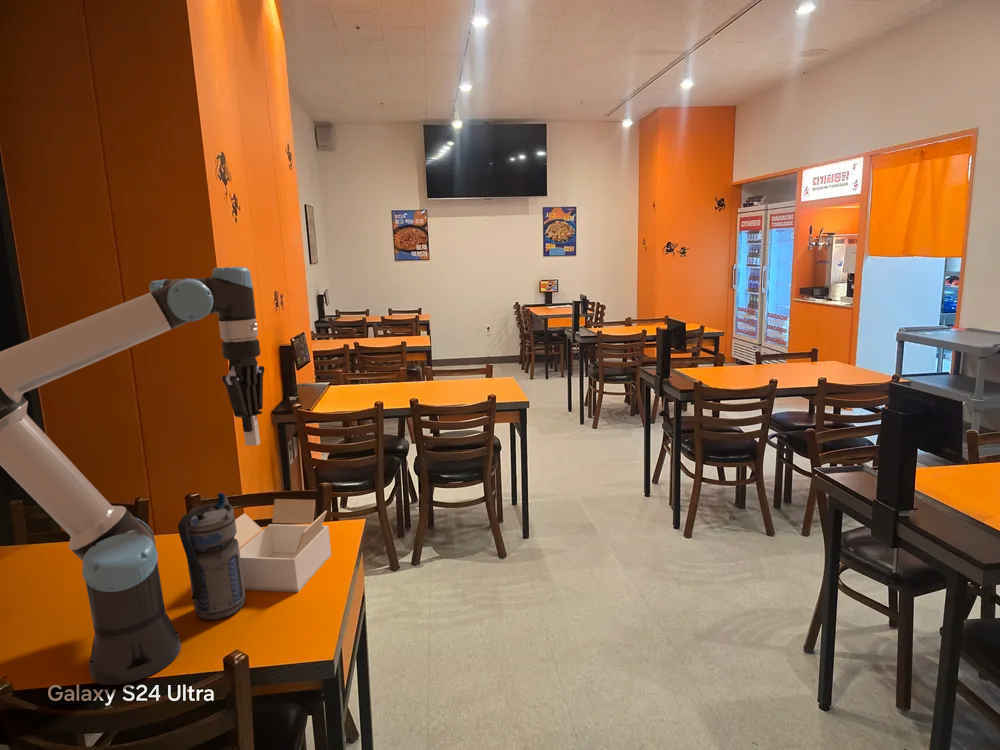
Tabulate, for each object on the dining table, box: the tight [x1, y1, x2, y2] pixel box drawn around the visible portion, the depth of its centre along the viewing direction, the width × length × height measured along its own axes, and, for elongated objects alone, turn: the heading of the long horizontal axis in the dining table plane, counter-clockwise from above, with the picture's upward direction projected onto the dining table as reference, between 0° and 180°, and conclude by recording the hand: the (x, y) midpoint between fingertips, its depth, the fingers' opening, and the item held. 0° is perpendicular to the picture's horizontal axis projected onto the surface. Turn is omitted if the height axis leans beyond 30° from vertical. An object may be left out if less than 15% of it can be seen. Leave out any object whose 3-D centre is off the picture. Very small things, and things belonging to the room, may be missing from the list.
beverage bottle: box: [177, 492, 246, 621], centre depth 132 cm, size 10×13×25 cm
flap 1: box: [271, 498, 316, 525], centre depth 159 cm, size 6×11×1 cm
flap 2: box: [295, 510, 328, 554], centre depth 146 cm, size 12×6×1 cm
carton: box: [234, 512, 332, 593], centre depth 150 cm, size 18×20×13 cm
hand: (252, 444), depth 138 cm, fingers closed
